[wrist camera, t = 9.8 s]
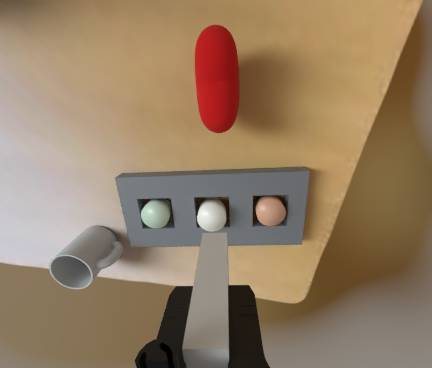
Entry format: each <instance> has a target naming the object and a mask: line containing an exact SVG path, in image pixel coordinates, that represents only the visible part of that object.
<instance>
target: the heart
mask: <svg viewBox="0 0 432 368" xmlns="http://www.w3.org/2000/svg"><path fill="white" fill-rule="evenodd" d="M195 75H196V87H197V100H198V107H199V112H200V116H201V119H202V121H203V123H204V125H205V126H206V127H207V128H208V129H209V130H210V131H212V132H215V133H222V132H225V131H227V130H229V129H230V128H231V127H232V125H233V124H234V122H235V120H236V117H237V112H238V105H239V66H238V56H237V50H236V45H235V42H234V39H233V37H232V35H231V33H230V32H229V31H228V30H227V29H226V28H224V27H223V26H220V25H211V26H209V27H207V28H205V29H204V30H203V31H202V32H201V34H200V35H199V37H198V40H197V43H196V48H195Z"/></svg>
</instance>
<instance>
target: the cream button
mask: <svg viewBox="0 0 432 368" xmlns="http://www.w3.org/2000/svg"><path fill="white" fill-rule="evenodd" d="M197 221H198V224H199V225H200V227H201V228H203V229H204V230H206V231H210V232H214V231H218V230H220V229H221V228H223V226H224V225H225V223H226V207H225V205H224V204H223V202H221V201H220V200H218V199H214V198H210V199H207V200H205V201H203V202H202V203H201V205H200V208H199V212H198V216H197Z"/></svg>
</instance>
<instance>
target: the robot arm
mask: <svg viewBox="0 0 432 368" xmlns="http://www.w3.org/2000/svg"><path fill="white" fill-rule="evenodd" d="M135 363H136V366H137V368H270V367H269V365H268V363H267V361H266V359H265V356H264V352H263V346H262V340H261V333H260V327H259V320H258V314H257V308H256V301H255V294H254V293H253V291H252V289H251V288H250V286H249V285H229V273H228V244H227V233H203V234H202V239H201V245H200V251H199V256H198V262H197V268H196V273H195V279H194V285H193V286H176V287H175V289H174V290H173V291H172V293H171V294H170V295H169V298H168V302H167V305H166V309H165V312H164V317H163V319H162V322H161V326H160V329H159V333H158V336H157V339H156V340H153V341H151V342H149V343H148V344H146V345H145V346H144V347H143V348H142V349H141V350H140V352H139V353H138V355H137V357H136V359H135Z"/></svg>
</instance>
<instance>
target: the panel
mask: <svg viewBox="0 0 432 368" xmlns="http://www.w3.org/2000/svg"><path fill="white" fill-rule="evenodd" d="M309 176H310V171H309V170H308V169H307V168H305V167H285V168H257V169H229V170H202V171H174V172H147V173H122V174H120V175H119V176H117V177H116V178H115V180H116V184H117V189H118V193H119V198H120V202H121V206H122V211H123V215H124V219H125V224H126V228H127V232H128V237H129V241H130V245H131V247H178V246H200V245H201V239H202V234H203V233H227V244H228V246H241V245H302V240H303V231H304V222H305V212H306V203H307V194H308V185H309ZM262 195H285V198H284V208H285V210H286V215H285V218H284V220H283V221H282V222H281V223H279V224H278V225H275V226H266V225H263V224H262V223H261V222H260V221H259V220H258V219H253V196H262ZM227 196H229V213H230V220H226V223H225V225H224V226H223V228H221V229H220V230H218V231H214V232H210V231H206V230H204V229H203V228H201V227H200V225H199V224H198V221H197V216H198V210H197V199H196V197H227ZM158 198H171V203H172V210H173V218H174V221H168V222H167V224H166V225H165V226H164V227H162V228H151V227H149V226H147V225H146V224H145V223H144V222H143V220H142V218H141V212H142V209H143V208H144V207H145V206H144V201H143V199H158Z"/></svg>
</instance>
